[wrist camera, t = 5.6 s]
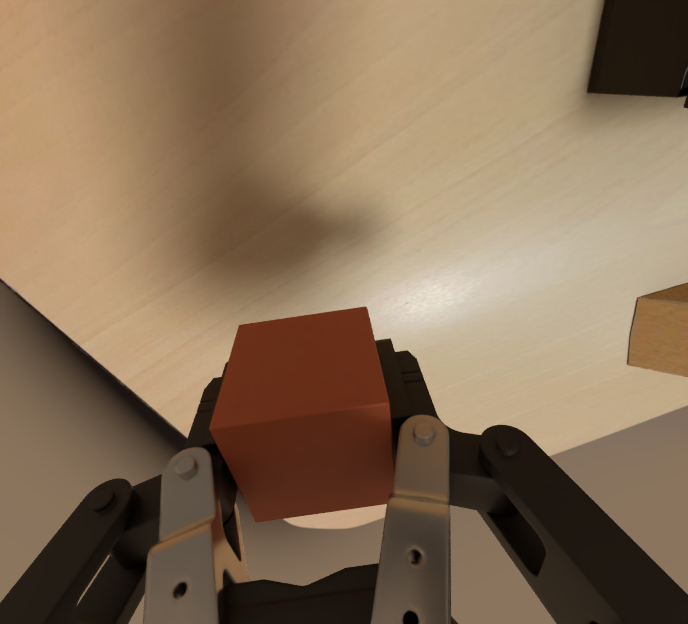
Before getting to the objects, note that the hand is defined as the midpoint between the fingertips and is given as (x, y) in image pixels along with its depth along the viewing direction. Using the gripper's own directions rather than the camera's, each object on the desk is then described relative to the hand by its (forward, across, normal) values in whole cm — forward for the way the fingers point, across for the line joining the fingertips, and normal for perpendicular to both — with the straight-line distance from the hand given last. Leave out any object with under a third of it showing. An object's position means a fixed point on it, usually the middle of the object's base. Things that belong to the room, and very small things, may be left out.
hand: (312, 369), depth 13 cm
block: (0, 0, 0) cm, 0 cm away
